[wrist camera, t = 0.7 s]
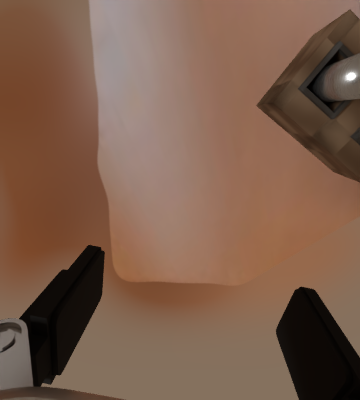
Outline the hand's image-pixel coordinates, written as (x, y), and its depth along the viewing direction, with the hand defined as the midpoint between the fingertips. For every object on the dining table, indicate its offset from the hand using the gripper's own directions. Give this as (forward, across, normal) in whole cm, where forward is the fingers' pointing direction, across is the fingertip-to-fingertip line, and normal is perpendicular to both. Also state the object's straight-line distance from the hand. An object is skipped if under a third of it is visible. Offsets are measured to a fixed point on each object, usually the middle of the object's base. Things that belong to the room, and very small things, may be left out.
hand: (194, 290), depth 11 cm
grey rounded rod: (+24, -13, -14) cm, 31 cm away
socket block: (+29, -17, -12) cm, 36 cm away
